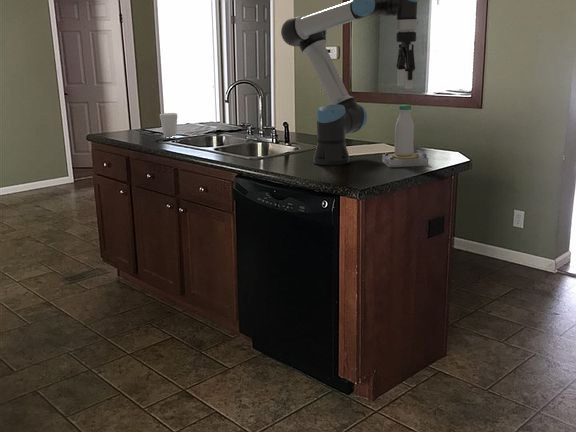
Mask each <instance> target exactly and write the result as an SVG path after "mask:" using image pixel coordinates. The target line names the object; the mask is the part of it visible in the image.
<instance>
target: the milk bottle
mask: <svg viewBox="0 0 576 432" xmlns="http://www.w3.org/2000/svg"><path fill="white" fill-rule="evenodd" d="M398 109H399V114H398V117H397V120H396V122H395V125H394V153H395V155H399V156H410V155H413V154H414V153H415V123H414V120H413V118H412V114H411V111H412V110H411V109H412V105H411V104H401V105H399V108H398Z"/></svg>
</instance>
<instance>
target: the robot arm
mask: <svg viewBox="0 0 576 432" xmlns="http://www.w3.org/2000/svg"><path fill="white" fill-rule="evenodd" d="M418 2H419V0H348V1H346V2H343V3H340V4H337V5H335V6H330V7H329V8H326V9H323V10H320V11H317V12H314V13H311V14H309V15H306V16H305V15H299V16H296V17H292V18H288V19H287V20H285V22H283V24H282V26H281V31H280V32H281V37H282V40H283V42H285V44H286V45H288V46H290V47H299V49H300V51H301V53H302V54H303V55H304V56H307V58H308V59H309V62H310V65H312V68H313V70H314V71H315V74H316V76H317V78H318V80H319V82H320V84H321V87H322V88H323V90H324V93H325V95H326V96H327V99H328V101H329V103H330V104H329V105H323V106H320V107H319V108H318V109H317V111H316V117H315V118H316V135H317V136H316V137H317V138H316V141H317V144H316V148H315V151H314V155H313V164H315V165H320V166H341V165H346V164H348V163H350V154H349V152H348V148H347V145H346V135H349V134H354V133H356V132H359V131H361V130H362V129H363V128H364V127H365V126H366V124H367V120H368V114H367V110H366V108H365V107H364V106H362V105H361V104H359V103H357V100H356V99H355V97H354V96H351V95H349V92H348V90H347V88H346V87H345V84H344V82H343V80H342V78H341V76H340V73H339V72H338V69H337V67H336V66H335V63H334V61H333V59H332V57H331V55H330V53H329V51H328V49H327V47H326V46H327V44H328V43H327V42H328V41H327V30H329V29H333V28H336V27H339V26H341V25H345V24H347V23H351V22H355V21H357V20H361V19H364V18H366V17H373V18H374V17H376V18H381V17H393V16H394V17H395V16H396V31H397V32H396V43H399V44H398V52H397V60H396V65H395V66H396V68H397V84H396V85H397V87H404V86H405V89H406V90H408V89H411V90H412V89H414V70H416V63H415V51H414V44H412V43H413V42H414V43H415V42H416V41H417V32H416V30H417V26H418V24H419V23H418V22H417V18H418V17H417V15H418V14H417V11H418Z"/></svg>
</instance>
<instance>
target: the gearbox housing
mask: <svg viewBox="0 0 576 432" xmlns="http://www.w3.org/2000/svg"><path fill="white" fill-rule="evenodd" d="M382 163H383V164H384V165H385V166H387V168H400V167H401V168H403V167H408V168H409V167H423V166H425V167H427V166H429V157H428V156H427V153H426V152H424V151H423V150H421V149H417V152H414V154H413V155H410V156H399V155H395V152H394V153H389V152H388V153H387V152H386V153H383V154H382Z"/></svg>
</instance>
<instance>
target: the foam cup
mask: <svg viewBox="0 0 576 432" xmlns="http://www.w3.org/2000/svg"><path fill="white" fill-rule="evenodd" d="M159 119H160V124H161V127H162V133H163V137H164V136H165V137H172V136H176V137H177V128H178V113H176V112H165V113H160V114H159ZM165 137H164V138H165Z"/></svg>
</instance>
